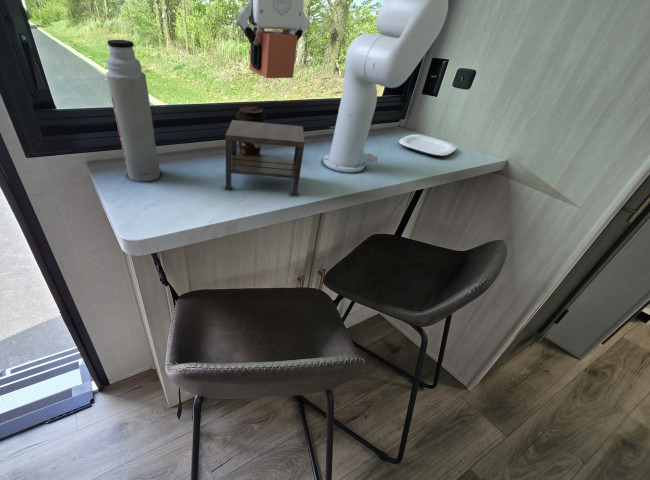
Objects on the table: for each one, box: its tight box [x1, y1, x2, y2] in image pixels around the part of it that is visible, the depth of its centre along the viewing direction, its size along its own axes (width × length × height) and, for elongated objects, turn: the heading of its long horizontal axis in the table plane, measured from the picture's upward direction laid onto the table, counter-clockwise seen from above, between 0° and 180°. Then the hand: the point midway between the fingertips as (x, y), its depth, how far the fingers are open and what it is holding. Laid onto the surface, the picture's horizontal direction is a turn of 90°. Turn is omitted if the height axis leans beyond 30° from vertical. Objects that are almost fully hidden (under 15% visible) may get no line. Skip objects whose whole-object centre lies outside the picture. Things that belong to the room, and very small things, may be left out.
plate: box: [398, 133, 458, 157], centre depth 116 cm, size 18×18×2 cm
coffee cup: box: [235, 105, 267, 157], centre depth 95 cm, size 9×8×13 cm
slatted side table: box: [225, 119, 306, 197], centre depth 82 cm, size 18×12×13 cm, turn 87°
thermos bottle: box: [105, 39, 161, 182], centre depth 75 cm, size 8×8×28 cm
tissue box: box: [249, 29, 298, 79], centre depth 67 cm, size 6×9×7 cm
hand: (271, 67), depth 69 cm, fingers closed on tissue box, 6 cm apart
